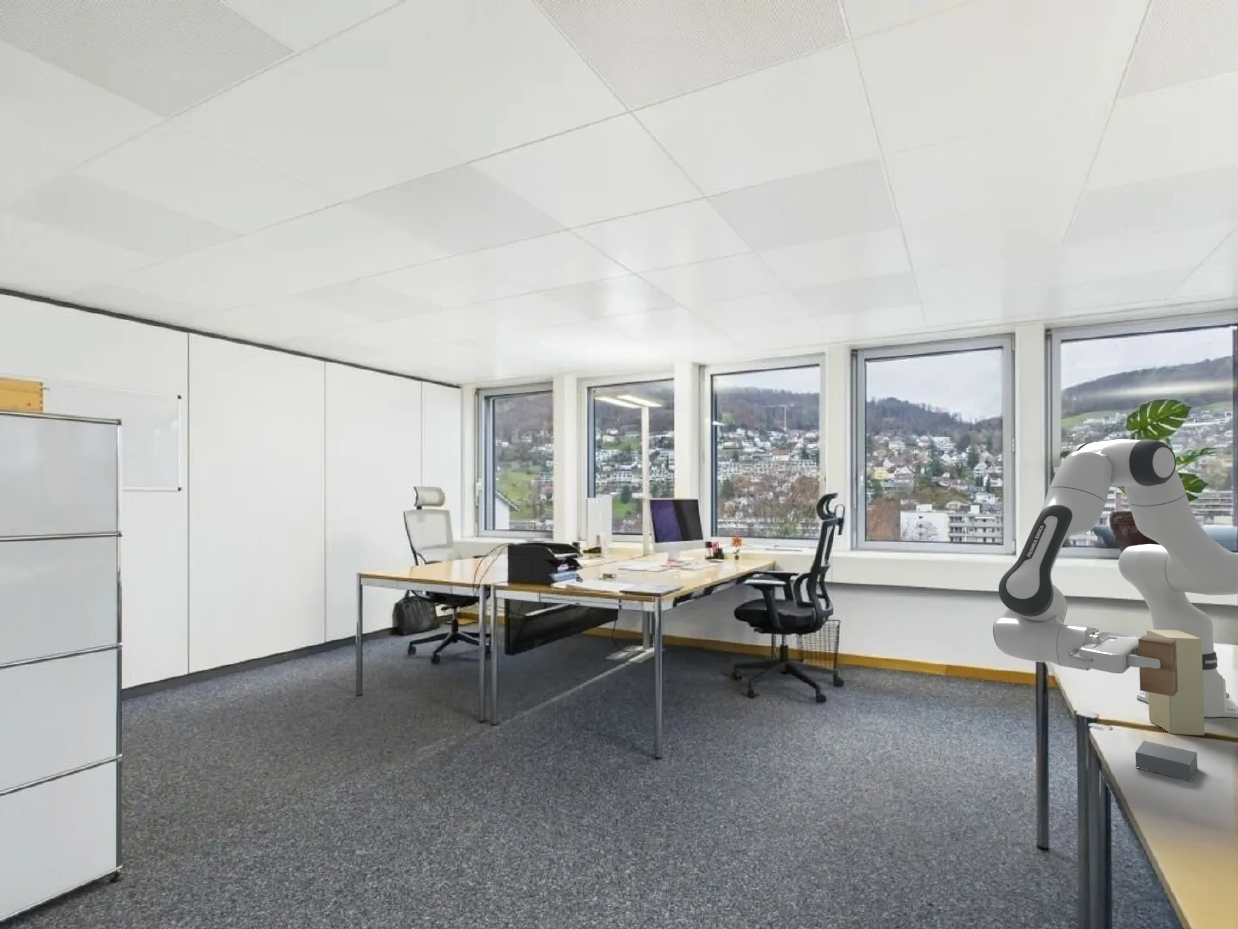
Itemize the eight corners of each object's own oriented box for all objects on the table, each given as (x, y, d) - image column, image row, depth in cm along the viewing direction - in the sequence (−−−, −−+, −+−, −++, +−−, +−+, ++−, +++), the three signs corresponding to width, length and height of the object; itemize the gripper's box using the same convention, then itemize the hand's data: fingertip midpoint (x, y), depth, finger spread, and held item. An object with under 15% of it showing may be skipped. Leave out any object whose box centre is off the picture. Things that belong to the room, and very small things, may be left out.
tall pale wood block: (1210, 736, 140) (1205, 638, 140) (1170, 734, 141) (1166, 637, 142) (1185, 722, 147) (1181, 630, 148) (1148, 721, 149) (1144, 629, 150)
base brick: (1144, 755, 131) (1143, 740, 131) (1197, 768, 125) (1196, 752, 125) (1135, 767, 125) (1135, 752, 125) (1190, 781, 119) (1190, 765, 119)
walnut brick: (1145, 685, 131) (1143, 635, 131) (1177, 691, 127) (1176, 639, 127) (1140, 690, 127) (1138, 639, 128) (1173, 696, 124) (1171, 643, 124)
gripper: (1064, 641, 130) (1152, 654, 120) (1091, 625, 144) (1172, 635, 133) (1065, 672, 130) (1153, 688, 120) (1092, 654, 143) (1173, 666, 133)
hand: (1163, 660), depth 127 cm, fingers closed on walnut brick, 5 cm apart
